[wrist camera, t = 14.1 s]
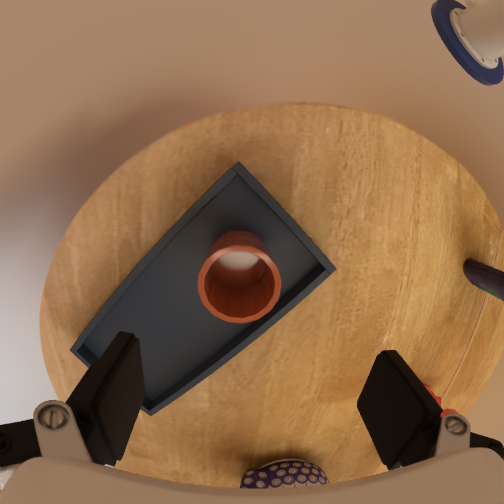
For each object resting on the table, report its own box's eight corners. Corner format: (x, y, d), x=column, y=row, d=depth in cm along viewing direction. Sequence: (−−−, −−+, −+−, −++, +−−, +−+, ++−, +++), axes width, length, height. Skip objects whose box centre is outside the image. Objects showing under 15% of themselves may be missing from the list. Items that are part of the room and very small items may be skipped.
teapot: (350, 466, 39) (370, 520, 25) (294, 494, 41) (304, 545, 27) (265, 430, 34) (276, 513, 20) (203, 464, 36) (198, 532, 22)
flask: (491, 278, 30) (536, 301, 20) (484, 294, 31) (528, 320, 21) (467, 254, 29) (521, 277, 19) (459, 272, 30) (511, 300, 19)
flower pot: (210, 226, 26) (200, 241, 19) (274, 233, 27) (286, 250, 20) (205, 287, 28) (196, 319, 21) (266, 292, 28) (274, 325, 21)
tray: (238, 163, 25) (238, 161, 23) (328, 261, 28) (336, 269, 26) (78, 340, 29) (69, 350, 27) (154, 403, 32) (150, 416, 30)
